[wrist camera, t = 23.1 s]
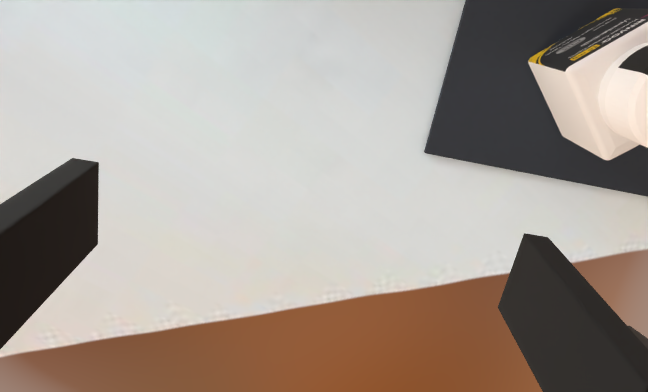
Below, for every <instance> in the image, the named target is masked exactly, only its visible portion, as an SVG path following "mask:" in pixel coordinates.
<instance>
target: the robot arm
mask: <svg viewBox="0 0 648 392" xmlns="http://www.w3.org/2000/svg"><path fill="white" fill-rule="evenodd" d="M98 167H99V162H93V161H87V160H81V159H75V158H72V159H70V160H69V161H67V162H66V163H64V164H63V165H61V166H59V167H58V168H56V169H55V170H53V171H52V172H50V173H48V174H47V175H45V176H44V177H42V178H41V179H39V180H38V181H36V182H34V183H33V184H31V185H30V186H28V187H27V188H25V189H23V190H22V191H20V192H19V193H17V194H16V195H14V196H13V197H11V198H9V199H8V200H6V201H5V202H3V203H2V204H0V349H1V348H2V347H3V346H4V345H5V344H6V343H7V341H8V340H9V339H10V338H11V337H12V336H13V335H14V334H15V333H16V332H17V331H18V330H19V328H20V327H21V326H22V325H23V324H24V323H25V322H26V321H27V320H28V319H29V318H30V317H31V316H32V314H33V313H34V312H35V311H36V310H37V309H38V308H39V307H40V306H41V305H42V304H43V303H44V301H45V300H46V299H47V298H48V297H49V296H50V295H51V294H52V293H53V292H54V291H55V290H56V289H57V287H58V286H59V285H60V284H61V283H62V282H63V281H64V280H65V279H66V278H67V277H68V276H69V274H70V273H71V272H72V271H73V270H74V269H75V268H76V267H77V266H78V265H79V264H80V263H81V262H82V260H83V259H84V258H85V257H86V256H87V255H88V254H89V253H90V252H91V251H92V250H93V249H94V248H95V246H96V245H97V244H98ZM498 308H499V310H500V312H501V314H502V316H503V318H504V320H505V321H506V324H507V325H508V327H509V329H510V331H511V333H512V335H513V337H514V339H515V340H516V342H517V344H518V346H519V348H520V350H521V352H522V353H523V355H524V357H525V359H526V361H527V363H528V365H529V366H530V368H531V370H532V372H533V374H534V376H535V378H536V380H537V382H538V383H539V385H540V387H541V389H542V391H543V392H648V339H647V338H646V337H645V336H643V335H642V334H640V333H639V332H638V331H636V330H635V329H633V328H632V327H631V326H627V325H626V324H625V323H624V322H623V321H622V320H621V319H620V318H619V316H618V315H617V314H616V313H615V312H614V311H613V310H612V309H611V307H610V306H608V304H607V303H606V302H605V301H604V300H603V298H602V297H601V296H600V295H599V294H598V293H597V292H596V291H595V290H594V288H593V287H592V286H591V285H590V284H589V283H588V282H587V281H586V279H585V278H584V277H583V276H582V275H581V274H580V273H579V272H578V271H577V269H576V268H575V267H574V266H573V265H572V264H571V263H570V262H569V260H568V259H567V258H566V257H565V256H564V255H563V254H562V253H561V251H560V250H559V249H558V248H557V247H556V246H555V245H554V244H553V243H552V241H551V240H550V239H549V238H548V237H543V236H537V235H531V234H525V233H524V235H523V238H522V241H521V244H520V247H519V249H518V252H517V255H516V258H515V261H514V263H513V266H512V269H511V272H510V275H509V277H508V280H507V283H506V286H505V289H504V291H503V294H502V297H501V300H500V303H499V305H498Z"/></svg>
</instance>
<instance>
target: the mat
mask: <svg viewBox="0 0 648 392" xmlns="http://www.w3.org/2000/svg"><path fill="white" fill-rule="evenodd" d="M616 8H627V9H648V0H466V2H465V5H464V9H463V13H462V16H461V20H460V24H459V27H458V31H457V34H456V38H455V42H454V45H453V49H452V53H451V56H450V60H449V64H448V67H447V71H446V75H445V78H444V82H443V85H442V89H441V93H440V96H439V100H438V104H437V107H436V111H435V115H434V118H433V122H432V125H431V129H430V133H429V136H428V140H427V144H426V147H425V151H424V152H425V153H427V154H432V155H438V156H443V157H448V158H453V159H458V160H463V161H468V162H474V163H479V164H484V165H489V166H494V167H499V168H504V169H510V170H515V171H520V172H525V173H530V174H535V175H540V176H546V177H551V178H556V179H561V180H566V181H571V182H576V183H582V184H587V185H592V186H597V187H602V188H607V189H612V190H618V191H623V192H628V193H633V194H638V195H643V196H648V148H647V147H645V146H643V145H638V146H636V147H634V148H632V149H630V150H629V151H627V152H625V153H623V154H621V155H619V156H617V157H615V158H613V159H611V160H604V159H602V158H600V157H599V156H597V155H595V154H593V153H591V152H590V151H588V150H586V149H584V148H583V147H581V146H579V145H577V144H575V143H574V142H572V141H570V140H568V139H567V138H565V137H563V136H562V134H561V132H560V130H559V128H558V126H557V124H556V122H555V119H554V117H553V115H552V113H551V111H550V109H549V106H548V104H547V102H546V100H545V98H544V96H543V94H542V91H541V89H540V87H539V85H538V83H537V81H536V79H535V76H534V74H533V72H532V70H531V68H530V66H529V63H528V60H529V59H530V58H531V57H532V56H534V55H536V54H537V53H539V52H541V51H542V50H544V49H546V48H548V47H549V46H551V45H553V44H555V43H556V42H558V41H560V40H561V39H563V38H565V37H567V36H568V35H570V34H572V33H573V32H575V31H577V30H579V29H580V28H582V27H584V26H585V25H587V24H589V23H591V22H592V21H594V20H596V19H597V18H599V17H601V16H603V15H604V14H606V13H608V12H609V11H611V10H613V9H616Z"/></svg>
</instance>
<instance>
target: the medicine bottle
mask: <svg viewBox="0 0 648 392" xmlns="http://www.w3.org/2000/svg"><path fill="white" fill-rule="evenodd" d="M528 63H529V66H530V68H531V70H532V72H533V74H534V76H535V79H536V81H537V83H538V85H539V87H540V89H541V91H542V94H543V96H544V98H545V100H546V102H547V104H548V106H549V109H550V111H551V113H552V115H553V117H554V119H555V122H556V124H557V126H558V128H559V130H560V132H561V134H562V136H563V137H565V138H567V139H568V140H570V141H572V142H574V143H575V144H577V145H579V146H581V147H583V148H584V149H586V150H588V151H590V152H591V153H593V154H595V155H597V156H599V157H600V158H602V159H604V160H611V159H613V158H615V157H617V156H619V155H621V154H623V153H625V152H627V151H629V150H630V149H632V148H634V147H636V146H638V145H643V146H645V147H647V148H648V9H627V8H616V9H613V10H611V11H609V12H608V13H606V14H604V15H603V16H601V17H599V18H597V19H596V20H594V21H592V22H591V23H589V24H587V25H585V26H584V27H582V28H580V29H579V30H577V31H575V32H573V33H572V34H570V35H568V36H567V37H565V38H563V39H561V40H560V41H558V42H556V43H555V44H553V45H551V46H549V47H548V48H546V49H544V50H542V51H541V52H539V53H537V54H536V55H534V56H532V57H531V58H530V59H529V60H528Z"/></svg>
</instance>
